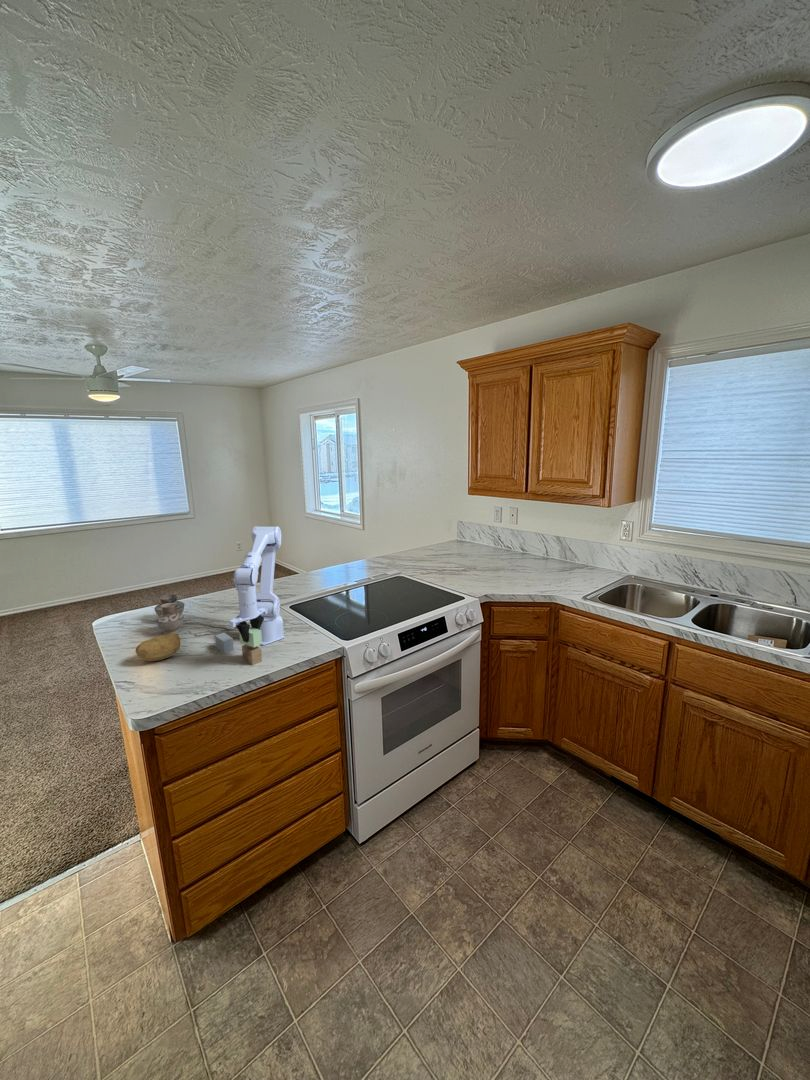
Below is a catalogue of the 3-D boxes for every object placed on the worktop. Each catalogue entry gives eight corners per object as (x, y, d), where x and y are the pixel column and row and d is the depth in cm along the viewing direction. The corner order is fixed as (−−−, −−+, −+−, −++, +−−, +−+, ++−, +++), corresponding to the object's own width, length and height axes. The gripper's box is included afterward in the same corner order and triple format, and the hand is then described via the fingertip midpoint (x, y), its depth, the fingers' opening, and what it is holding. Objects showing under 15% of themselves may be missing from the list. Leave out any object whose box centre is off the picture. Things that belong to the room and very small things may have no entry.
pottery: (155, 640, 167) (152, 611, 165) (156, 618, 189) (153, 591, 186) (188, 634, 173) (185, 606, 170) (185, 613, 194) (182, 587, 191)
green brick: (240, 642, 152) (239, 629, 151) (248, 638, 155) (247, 625, 154) (254, 647, 148) (252, 633, 147) (262, 643, 151) (261, 630, 150)
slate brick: (215, 647, 162) (214, 635, 161) (225, 644, 164) (224, 632, 163) (224, 654, 157) (223, 641, 156) (233, 650, 160) (232, 638, 159)
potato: (134, 660, 152) (131, 638, 151) (178, 648, 161) (175, 627, 160) (140, 670, 145) (137, 648, 143) (185, 657, 154) (183, 636, 152)
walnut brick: (242, 658, 154) (241, 645, 153) (252, 655, 156) (251, 642, 155) (252, 665, 149) (251, 652, 148) (262, 661, 152) (261, 648, 151)
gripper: (256, 593, 156) (259, 629, 159) (221, 606, 144) (225, 644, 147) (270, 597, 153) (273, 633, 156) (235, 610, 141) (239, 649, 144)
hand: (250, 639), depth 151 cm, fingers closed on green brick, 3 cm apart
